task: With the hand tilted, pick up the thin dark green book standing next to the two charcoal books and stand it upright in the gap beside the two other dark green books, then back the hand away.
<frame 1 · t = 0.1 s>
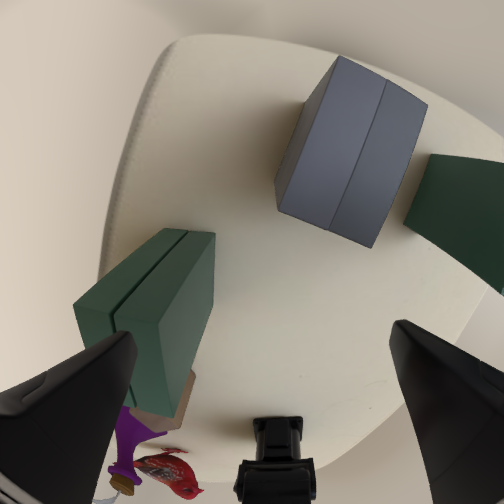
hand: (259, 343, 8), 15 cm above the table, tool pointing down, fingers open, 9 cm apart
green book: (427, 193, 20), on the table
decorative bird figurine: (164, 446, 37), on the table
perfume bottle: (145, 394, 31), on the table
green book B: (176, 266, 24), on the table
charcoal book 2: (303, 146, 20), on the table
wooden block: (174, 367, 29), on the table
green book A: (202, 269, 24), on the table
charcoal book 1: (328, 157, 20), on the table
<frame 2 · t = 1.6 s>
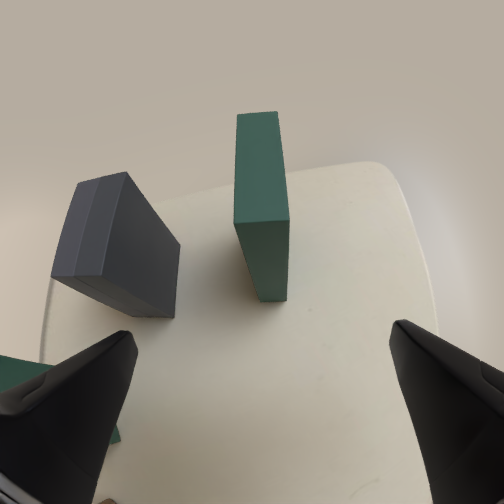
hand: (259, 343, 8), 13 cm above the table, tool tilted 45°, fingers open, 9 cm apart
green book: (271, 262, 24), on the table
charcoal book 2: (145, 280, 24), on the table
green book A: (103, 407, 20), on the table
charcoal book 1: (166, 280, 24), on the table
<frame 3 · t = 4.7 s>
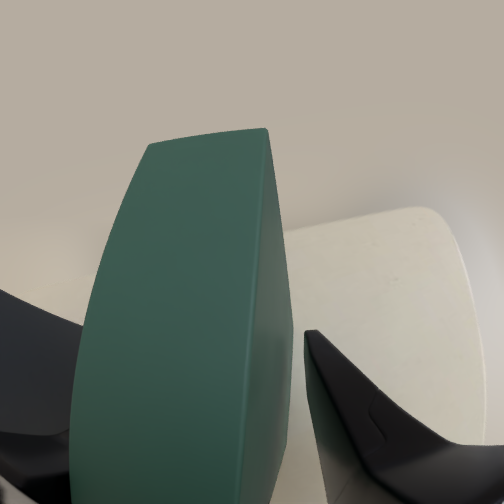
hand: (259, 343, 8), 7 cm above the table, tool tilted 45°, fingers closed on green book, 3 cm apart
green book: (270, 385, 14), on the table, touching gripper
charcoal book 1: (122, 394, 14), on the table
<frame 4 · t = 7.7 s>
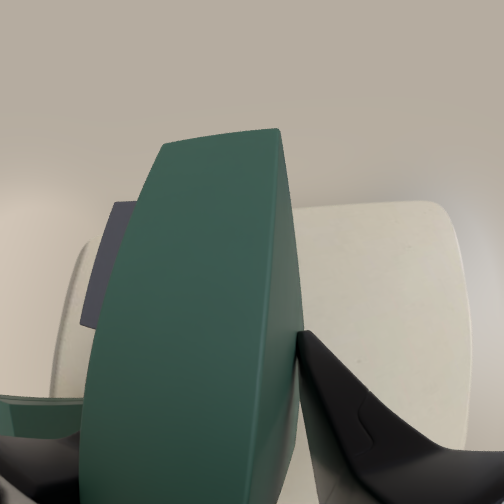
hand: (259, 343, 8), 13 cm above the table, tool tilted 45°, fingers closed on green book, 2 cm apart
green book: (280, 386, 14), point 6 cm above the table, tilted 8°, touching gripper
charcoal book 2: (182, 309, 22), on the table
green book A: (123, 435, 18), on the table
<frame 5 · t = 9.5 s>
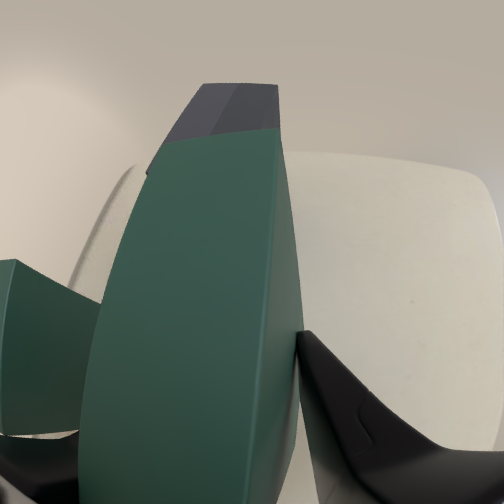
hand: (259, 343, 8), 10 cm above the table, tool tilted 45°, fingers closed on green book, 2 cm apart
green book: (280, 386, 14), point 3 cm above the table, tilted 8°, touching gripper
charcoal book 2: (233, 229, 22), on the table
green book A: (136, 369, 18), on the table
charcoal book 1: (260, 233, 21), on the table
when the fingers open (7 cm above the table, at t = 10.6 s): green book stays where it is, on the table.
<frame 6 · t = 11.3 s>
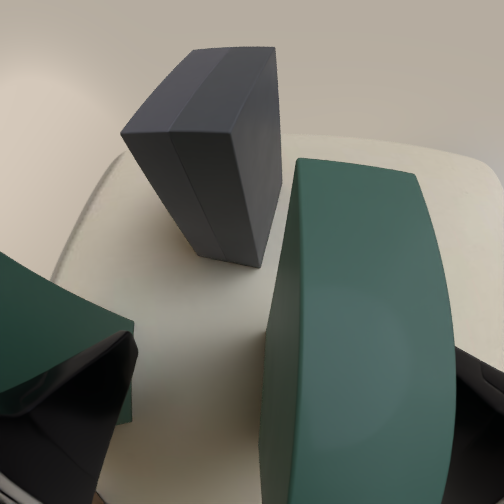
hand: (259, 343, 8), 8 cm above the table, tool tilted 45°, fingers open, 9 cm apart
green book: (282, 389, 14), on the table, tilted 6°, touching gripper
charcoal book 2: (227, 214, 19), on the table
green book A: (118, 370, 15), on the table
charcoal book 1: (257, 219, 19), on the table
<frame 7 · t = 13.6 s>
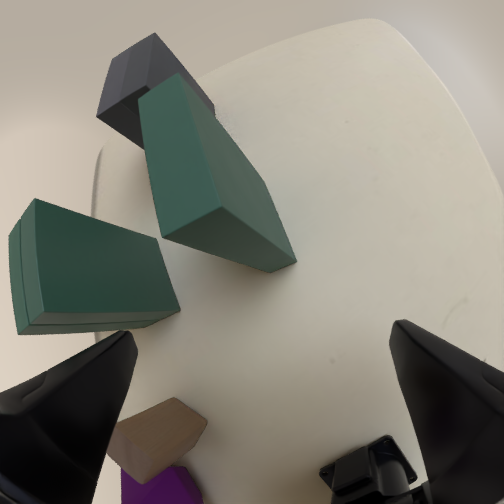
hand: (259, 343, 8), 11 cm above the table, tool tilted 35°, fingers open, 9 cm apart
green book: (267, 225, 21), on the table
perfume bottle: (179, 480, 20), on the table
green book B: (140, 288, 24), on the table
charcoal book 2: (187, 141, 25), on the table
wooden block: (185, 421, 21), on the table
green book A: (158, 278, 23), on the table
charcoal book 1: (206, 133, 24), on the table
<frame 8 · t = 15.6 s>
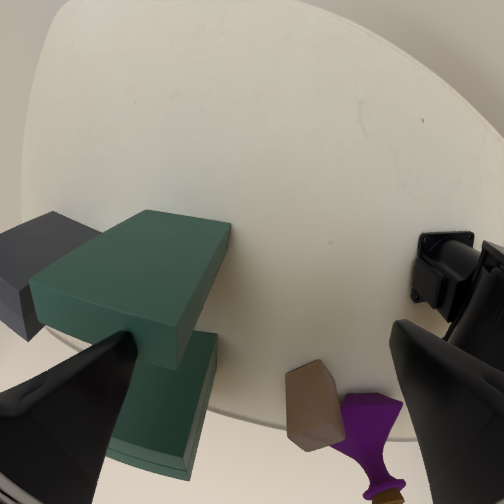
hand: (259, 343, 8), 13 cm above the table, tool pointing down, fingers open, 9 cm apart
green book: (185, 229, 21), on the table, touching gripper
perfume bottle: (356, 402, 27), on the table
green book B: (182, 355, 26), on the table
charcoal book 2: (74, 252, 22), on the table
wooden block: (309, 375, 26), on the table
green book A: (181, 337, 25), on the table
charcoal book 1: (76, 232, 22), on the table
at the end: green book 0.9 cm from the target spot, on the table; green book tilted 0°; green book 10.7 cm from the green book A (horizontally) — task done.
